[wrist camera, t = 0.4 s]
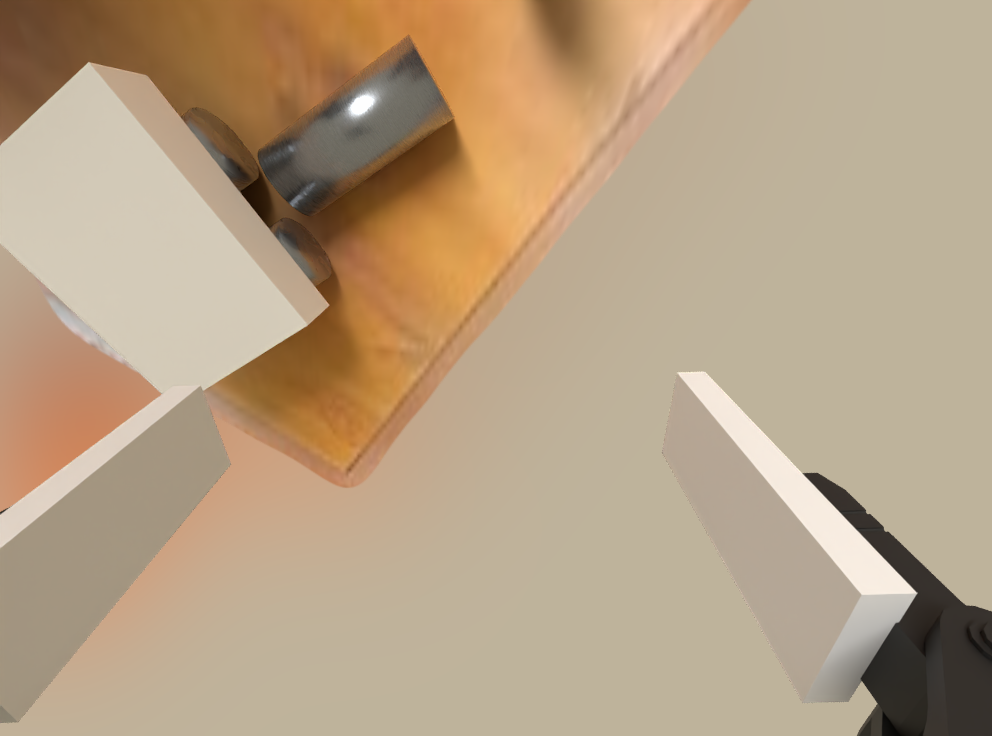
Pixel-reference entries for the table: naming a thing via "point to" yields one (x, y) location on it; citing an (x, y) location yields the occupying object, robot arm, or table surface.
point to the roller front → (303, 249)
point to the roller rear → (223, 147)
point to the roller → (356, 130)
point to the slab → (146, 233)
